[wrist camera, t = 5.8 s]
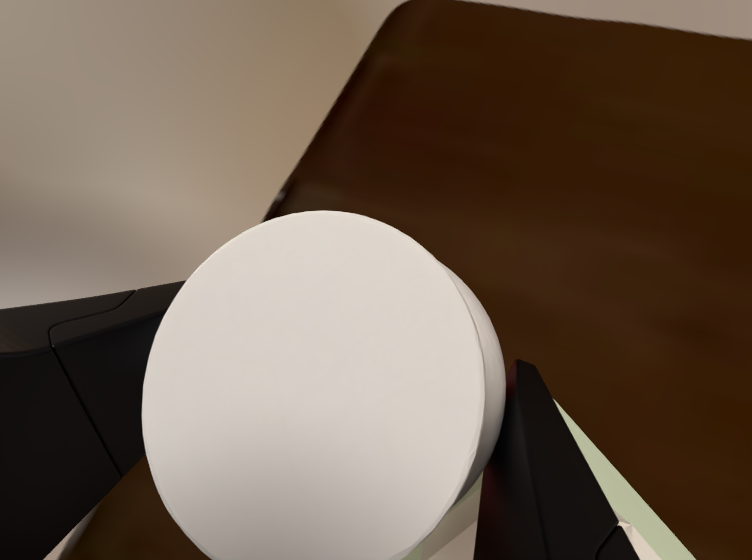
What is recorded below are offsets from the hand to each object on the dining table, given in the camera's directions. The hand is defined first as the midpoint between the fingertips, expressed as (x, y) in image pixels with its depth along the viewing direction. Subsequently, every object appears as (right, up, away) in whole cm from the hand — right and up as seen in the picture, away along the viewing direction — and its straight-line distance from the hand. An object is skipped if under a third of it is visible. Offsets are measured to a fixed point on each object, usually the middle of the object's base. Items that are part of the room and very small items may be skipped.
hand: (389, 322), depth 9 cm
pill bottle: (+1, -3, +6) cm, 7 cm away
